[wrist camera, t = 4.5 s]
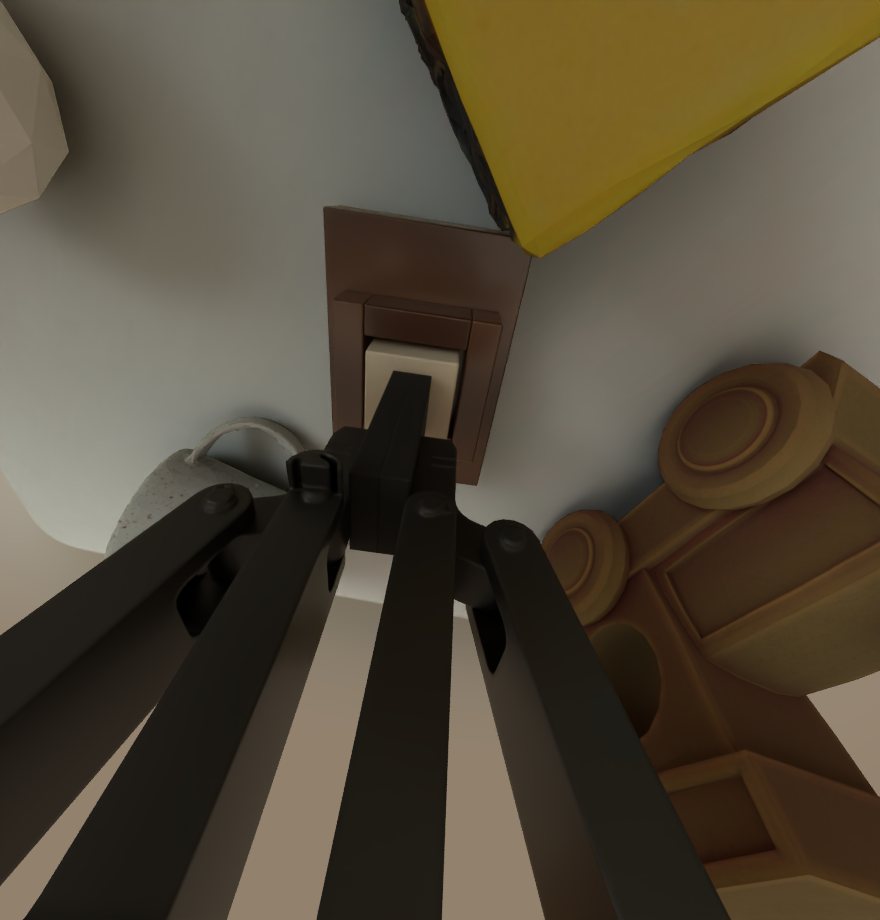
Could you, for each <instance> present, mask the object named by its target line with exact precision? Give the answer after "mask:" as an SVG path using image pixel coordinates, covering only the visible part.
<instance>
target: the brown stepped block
mask: <svg viewBox="0 0 880 920" xmlns="http://www.w3.org/2000/svg"><path fill="white" fill-rule="evenodd" d="M323 212H324V235H325V258H326V282H327V305H328V328H329V352H330V375H331V398H332V421H333V433H334V432H336V431H338V430H339V429H341V428H342V427H344V426H349V427H356V428H363V429H364V419H365V352H366V350H367V348H368V347H369V345H370V344H371V342H372V341H373V339H374V338H375V337H379V338H385V339H392V340H399V341H406V342H413V343H419V344H426V345H433V346H440V347H447V348H453V349H460V357H459V370H458V376H457V382H456V388H455V394H454V400H453V406H452V412H451V418H450V424H449V430H448V436H447V439H448V440H452V442H453V444H454V445H455V447H456V448H457V465H456V483H460V484H467V485H475V486H477V484H478V480H479V476H480V471H481V467H482V463H483V459H484V455H485V451H486V447H487V442H488V438H489V434H490V430H491V426H492V422H493V417H494V413H495V409H496V405H497V401H498V397H499V392H500V388H501V384H502V380H503V376H504V372H505V367H506V363H507V359H508V355H509V351H510V347H511V342H512V338H513V334H514V330H515V326H516V322H517V318H518V313H519V309H520V305H521V301H522V297H523V293H524V288H525V284H526V280H527V276H528V272H529V268H530V263H531V259H532V256H529V255H525V253H524V251H523V249H522V248H521V247H519V246H518V245H517V244H515V243H514V242H513V241H511V236H510V232H506V231H500V230H493V229H487V228H480V227H474V226H468V225H461V224H455V223H448V222H442V221H436V220H429V219H423V218H416V217H410V216H404V215H397V214H391V213H384V212H378V211H372V210H365V209H359V208H352V207H346V206H325V207H324V208H323Z"/></svg>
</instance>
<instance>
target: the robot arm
mask: <svg viewBox="0 0 880 920" xmlns="http://www.w3.org/2000/svg"><path fill="white" fill-rule="evenodd" d="M431 380H432V376H429V375H422V374H415V373H408V372H401V371H395V370H393V372H392V374H391V377H390V379H389V381H388V384H387V386H386V388H385V390H384V393H383V395H382V397H381V400H380V402H379V404H378V406H377V409H376V411H375V413H374V416H373V418H372V420H371V422H370V425H369V427H368V429H363V428H356V427H349V426H344V427H342V428H341V429H339V430H338V431H336V432H334V433H333V435H332V437H331V438H330V440H329V442H328V444H327V445H326V447H325V449H324V450H308V451H303V452H300V453H298V454H295V455H293V456H291V457H290V458H289V459H288V460H287V461H286V467H287V474H288V482H289V490H288V492H287V493H286V494H283V495H278V496H269V497H258V498H253V497H252V494H251V492H250V490H249V489H248V488H246V487H245V486H243V485H240V484H234V483H223V484H216V485H213V486H210V487H206V488H205V489H203V490H201V491H199V492H197V493H196V494H194V495H193V496H192V497H190V498H189V499H187V500H186V501H185V502H183V503H182V504H181V505H179V506H178V507H176V508H175V509H174V510H172V511H171V512H170V513H168V514H167V515H165V516H164V517H163V518H161V519H160V520H159V521H157V522H156V523H154V524H153V525H152V526H150V527H149V528H148V529H146V530H145V531H143V532H142V533H141V534H139V535H138V536H137V537H135V538H134V539H132V540H131V541H130V542H128V543H127V544H126V545H124V546H123V547H121V548H120V549H119V550H117V551H116V552H115V553H113V554H112V555H110V556H109V557H108V558H106V559H105V560H104V561H102V562H101V563H99V564H98V565H97V566H95V567H94V568H93V569H91V570H90V571H88V572H87V573H86V574H84V575H83V576H81V577H80V578H79V579H77V580H76V581H75V582H73V583H72V584H70V585H69V586H68V587H66V588H65V589H64V590H62V591H61V592H60V593H58V594H57V595H55V596H54V597H53V598H51V599H50V600H48V601H47V602H46V603H44V604H43V605H42V606H40V607H39V608H37V609H36V610H35V611H33V612H32V613H31V614H29V615H28V616H27V617H25V618H24V619H22V620H21V621H20V622H18V623H17V624H15V625H14V626H13V627H11V628H10V629H9V630H7V631H6V632H4V633H3V634H2V635H0V886H1V884H2V883H3V882H4V881H5V880H6V879H7V877H8V876H9V875H10V874H11V873H12V872H13V871H14V869H15V868H16V867H17V866H18V865H19V863H20V862H21V861H22V860H23V859H24V858H25V857H26V855H27V854H28V853H29V852H30V851H31V849H32V848H33V847H34V846H35V845H36V844H37V843H38V841H39V840H40V839H41V838H42V837H43V836H44V835H45V833H46V832H47V831H48V830H49V829H50V827H51V826H52V825H53V824H54V823H55V822H56V821H57V819H58V818H59V817H60V816H61V815H62V814H63V812H64V811H65V810H66V809H67V808H68V807H69V805H70V804H71V803H72V802H73V801H74V800H75V798H76V797H77V796H78V795H79V794H80V793H81V792H82V790H83V789H84V788H85V787H86V785H88V783H89V782H90V781H91V780H92V779H93V778H94V776H95V775H96V774H97V773H98V772H99V771H100V769H101V768H102V767H103V766H104V765H105V763H106V762H107V761H108V760H109V759H110V758H111V757H112V755H113V754H114V753H115V752H116V751H117V750H118V749H119V747H120V746H121V745H122V744H123V743H124V741H125V740H126V739H127V738H128V737H129V736H130V734H131V733H132V732H133V731H134V730H135V729H136V728H137V726H138V725H139V724H140V723H141V722H142V721H143V719H144V718H145V717H146V716H147V715H148V713H150V711H151V710H152V709H153V708H154V707H155V706H156V704H157V703H158V704H157V706H156V707H155V709H154V711H153V712H152V714H151V715H150V717H149V719H148V720H147V722H146V724H145V725H144V727H143V729H142V730H141V732H140V733H139V735H138V737H137V738H136V740H135V742H134V743H133V745H132V747H131V748H130V750H129V751H128V753H127V755H126V756H125V758H124V760H123V761H122V763H121V764H120V766H119V768H118V769H117V771H116V773H115V774H114V776H113V778H112V779H111V781H110V782H109V784H108V786H107V787H106V789H105V791H104V792H103V794H102V796H101V797H100V799H99V800H98V802H97V804H96V806H95V807H94V808H93V810H92V812H91V813H90V815H89V817H88V818H87V820H86V822H85V823H84V825H83V826H82V828H81V830H80V831H79V833H78V835H77V836H76V838H75V839H74V841H73V843H72V844H71V846H70V848H69V849H68V851H67V853H66V854H65V856H64V857H63V860H62V861H61V862H60V864H59V866H58V867H57V869H56V870H55V872H54V874H53V875H52V877H51V879H50V880H49V882H48V884H47V885H46V887H45V888H44V890H43V892H42V894H41V895H40V897H39V898H38V900H37V901H36V902H35V904H34V905H33V907H32V908H31V910H30V911H29V913H28V914H27V916H26V917H25V918H24V919H23V920H227V917H228V914H229V911H230V908H231V905H232V902H233V899H234V896H235V893H236V890H237V887H238V884H239V881H240V878H241V875H242V872H243V869H244V866H245V863H246V860H247V857H248V854H249V851H250V848H251V845H252V842H253V839H254V836H255V833H256V830H257V827H258V824H259V821H260V818H261V815H262V812H263V809H264V806H265V803H266V800H267V797H268V794H269V791H270V788H271V785H272V782H273V779H274V776H275V773H276V770H277V767H278V764H279V761H280V758H281V755H282V752H283V749H284V746H285V743H286V740H287V737H288V734H289V731H290V728H291V725H292V722H293V719H294V716H295V713H296V710H297V707H298V704H299V701H300V698H301V695H302V692H303V689H304V686H305V683H306V680H307V677H308V674H309V671H310V668H311V665H312V662H313V659H314V656H315V653H316V650H317V647H318V644H319V641H320V638H321V635H322V632H323V629H324V626H325V623H326V620H327V617H328V614H329V611H330V608H331V605H332V602H333V599H334V596H335V593H336V590H337V587H338V584H339V581H340V578H341V575H342V572H343V569H344V566H345V550H346V547H347V544H348V541H349V538H350V549H353V550H360V551H367V552H375V553H382V554H390V555H394V556H393V561H392V566H391V570H390V575H389V580H388V585H387V589H386V594H385V599H384V603H383V608H382V613H381V618H380V623H379V627H378V632H377V637H376V641H375V646H374V651H373V656H372V660H371V665H370V670H369V674H368V679H367V684H366V688H365V693H364V698H363V702H362V707H361V712H360V717H359V721H358V726H357V731H356V736H355V741H354V745H353V750H352V755H351V759H350V764H349V769H348V773H347V778H346V783H345V787H344V792H343V797H342V802H341V806H340V811H339V816H338V821H337V825H336V830H335V835H334V839H333V844H332V849H331V854H330V858H329V863H328V868H327V873H326V877H325V882H324V887H323V891H322V896H321V901H320V905H319V910H318V915H317V920H442V899H443V872H444V871H443V870H444V846H445V845H444V843H445V818H446V792H447V766H448V740H449V712H450V687H451V685H450V684H451V660H452V633H453V607H454V599H455V600H457V601H459V602H461V603H464V604H466V610H467V614H468V618H469V622H470V626H471V630H472V634H473V637H474V642H475V646H476V650H477V654H478V658H479V662H480V665H481V669H482V673H483V677H484V681H485V685H486V689H487V693H488V697H489V701H490V705H491V709H492V713H493V717H494V721H495V724H496V728H497V732H498V736H499V740H500V744H501V748H502V752H503V756H504V760H505V764H506V767H507V772H508V775H509V780H510V784H511V787H512V791H513V795H514V799H515V803H516V807H517V811H518V815H519V819H520V823H521V827H522V831H523V834H524V839H525V842H526V846H527V850H528V854H529V858H530V862H531V866H532V870H533V873H534V878H535V882H536V886H537V890H538V894H539V898H540V902H541V905H542V909H543V913H544V917H545V920H731V918H730V916H729V915H728V913H727V911H726V909H725V907H724V905H723V903H722V901H721V899H720V897H719V895H718V893H717V891H716V889H715V887H714V885H713V883H712V881H711V879H710V877H709V875H708V873H707V871H706V869H705V867H704V865H703V863H702V861H701V859H700V857H699V855H698V853H697V851H696V849H695V847H694V845H693V843H692V841H691V840H690V838H689V836H688V834H687V832H686V830H685V828H684V826H683V824H682V822H681V820H680V818H679V816H678V814H677V812H676V810H675V808H674V806H673V804H672V802H671V800H670V798H669V796H668V794H667V792H666V790H665V788H664V786H663V784H662V782H661V780H660V778H659V776H658V774H657V772H656V770H655V768H654V766H653V765H652V763H651V761H650V759H649V757H648V755H647V753H646V751H645V749H644V747H643V745H642V743H641V741H640V739H639V737H638V735H637V733H636V731H635V729H634V727H633V725H632V723H631V721H630V719H629V717H628V715H627V713H626V711H625V709H624V707H623V705H622V703H621V701H620V699H619V697H618V695H617V693H616V691H615V690H614V688H613V686H612V684H611V682H610V680H609V678H608V676H607V674H606V672H605V670H604V668H603V666H602V664H601V662H600V660H599V658H598V656H597V654H596V652H595V650H594V648H593V646H592V644H591V642H590V640H589V638H588V636H587V634H586V632H585V630H584V628H583V626H582V624H581V622H580V620H579V618H578V616H577V615H576V613H575V611H574V609H573V607H572V605H571V603H570V601H569V599H568V597H567V595H566V593H565V591H564V589H563V587H562V585H561V583H560V581H559V579H558V577H557V575H556V573H555V571H554V569H553V567H552V565H551V563H550V561H549V559H548V557H547V555H546V553H545V551H544V549H543V547H542V545H541V543H540V541H539V540H538V538H537V536H536V535H535V534H534V532H533V531H532V530H531V529H529V528H528V527H526V526H525V525H524V524H521V523H519V522H516V521H513V520H504V519H502V520H497V521H494V522H492V523H491V524H489V525H488V526H487V527H485V526H483V525H480V524H478V523H475V522H473V521H471V520H469V519H468V518H467V517H465V516H464V515H463V514H462V513H461V512H460V511H459V510H458V508H457V506H456V502H455V489H456V465H457V448H456V447H455V445H454V444H453V442H452V440H448V439H441V438H434V437H427V436H425V428H426V420H427V412H428V404H429V396H430V388H431Z"/></svg>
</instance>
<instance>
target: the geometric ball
mask: <svg viewBox="0 0 880 920" xmlns="http://www.w3.org/2000/svg"><path fill="white" fill-rule="evenodd" d="M68 152H69V150H68V146H67V142H66V137H65V133H64V129H63V125H62V121H61V117H60V112H59V108H58V104H57V100H56V96H55V92H54V87H53V83H52V81H51V80H50V78H49V77H48V75H47V73H46V72H45V70H44V69H43V67H42V65H41V64H40V62H39V61H38V59H37V57H36V56H35V54H34V53H33V51H32V50H31V48H30V46H29V45H28V43H27V42H26V40H25V38H24V37H23V35H22V34H21V32H20V30H19V29H18V27H17V26H16V24H15V23H14V21H13V19H12V18H11V16H10V15H9V13H8V11H7V10H6V8H5V7H4V5H3V3H2V2H1V0H0V213H3V212H5V211H8V210H10V209H13V208H16V207H18V206H21V205H23V204H26V203H29V202H31V201H34V200H37V199H39V198H40V196H41V194H42V193H43V191H44V190H45V188H46V187H47V185H48V184H49V182H50V180H51V179H52V177H53V176H54V174H55V173H56V171H57V170H58V168H59V166H60V165H61V163H62V162H63V160H64V159H65V157H66V156H67V154H68Z"/></svg>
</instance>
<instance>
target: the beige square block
mask: <svg viewBox="0 0 880 920" xmlns="http://www.w3.org/2000/svg"><path fill="white" fill-rule="evenodd" d="M459 357H460V349H453V348H447V347H440V346H433V345H426V344H419V343H413V342H406V341H399V340H392V339H385V338H379V337H375V338H374V339H373V341H372V342H371V344H370V345H369V347H368V348H367V350H366V352H365V419H364V429H368V427H369V425H370V422H371V420H372V418H373V416H374V413H375V411H376V409H377V406H378V404H379V402H380V400H381V397H382V395H383V393H384V390H385V388H386V386H387V384H388V381H389V379H390V377H391V374H392V372H393V370H395V371H401V372H408V373H415V374H422V375H429V376H432V380H431V388H430V396H429V404H428V412H427V420H426V428H425V436H427V437H434V438H441V439H447V436H448V430H449V424H450V418H451V412H452V406H453V400H454V394H455V388H456V382H457V376H458V370H459Z"/></svg>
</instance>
